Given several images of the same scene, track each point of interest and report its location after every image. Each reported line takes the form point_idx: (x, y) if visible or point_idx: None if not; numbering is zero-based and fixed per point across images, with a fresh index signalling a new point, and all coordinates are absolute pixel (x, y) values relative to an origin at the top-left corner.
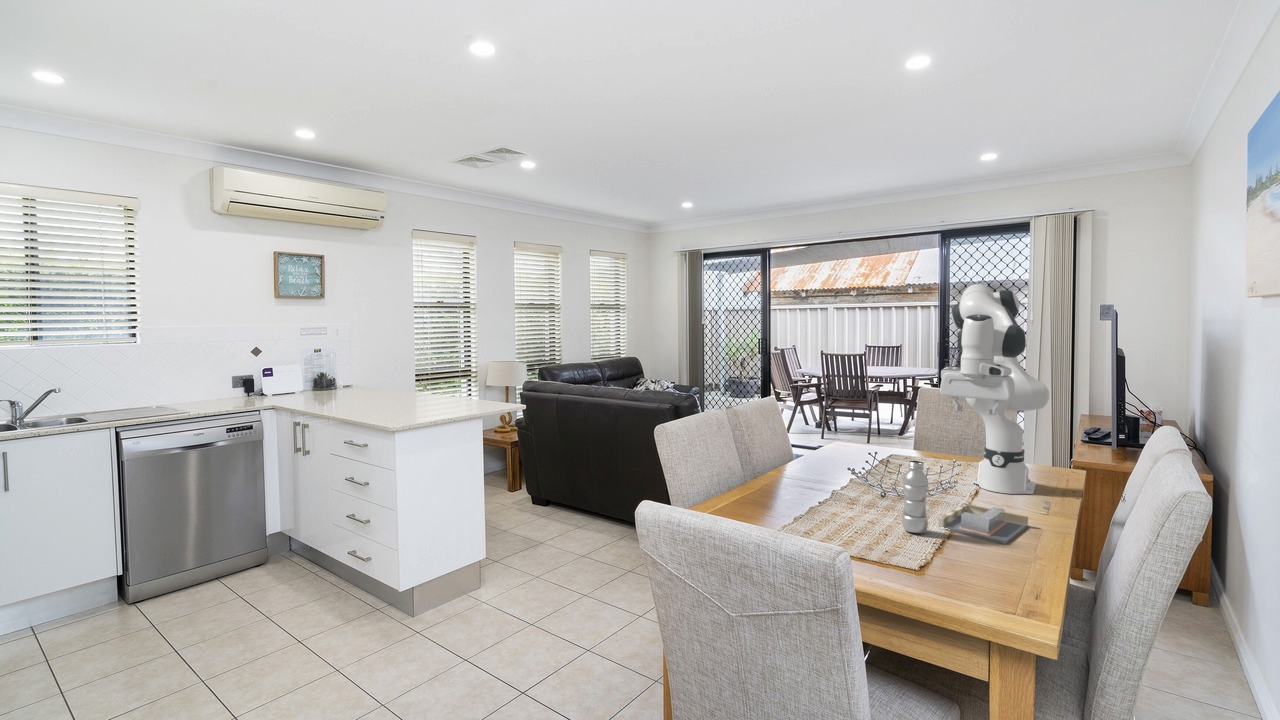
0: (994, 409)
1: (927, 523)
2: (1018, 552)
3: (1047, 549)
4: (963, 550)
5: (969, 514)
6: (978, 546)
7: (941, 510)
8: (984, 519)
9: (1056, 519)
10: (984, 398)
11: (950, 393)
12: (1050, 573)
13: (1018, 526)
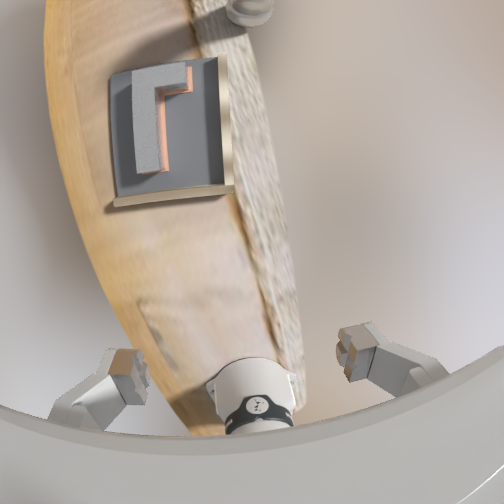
0: (95, 374)
1: (226, 9)
2: (90, 64)
3: (66, 115)
4: (153, 5)
5: (172, 73)
6: (141, 34)
7: (272, 170)
8: (139, 69)
9: (116, 287)
10: (136, 439)
11: (482, 376)
12: (51, 38)
13: (122, 174)
